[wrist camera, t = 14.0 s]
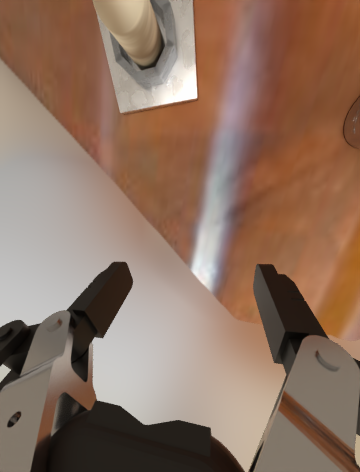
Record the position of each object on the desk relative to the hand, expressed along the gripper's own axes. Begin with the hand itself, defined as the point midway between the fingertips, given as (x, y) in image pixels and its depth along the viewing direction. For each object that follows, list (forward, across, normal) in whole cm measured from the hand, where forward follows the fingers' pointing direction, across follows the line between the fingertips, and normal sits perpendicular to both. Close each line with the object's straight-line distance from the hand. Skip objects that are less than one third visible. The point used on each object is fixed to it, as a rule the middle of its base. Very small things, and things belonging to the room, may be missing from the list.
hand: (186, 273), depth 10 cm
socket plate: (+28, +7, -21) cm, 36 cm away
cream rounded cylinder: (+26, +7, -21) cm, 34 cm away
